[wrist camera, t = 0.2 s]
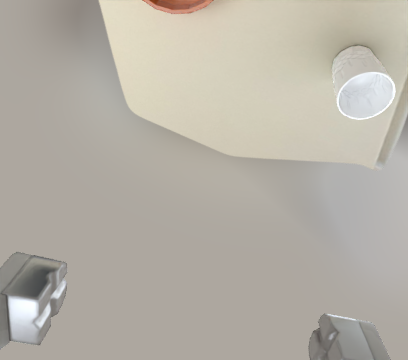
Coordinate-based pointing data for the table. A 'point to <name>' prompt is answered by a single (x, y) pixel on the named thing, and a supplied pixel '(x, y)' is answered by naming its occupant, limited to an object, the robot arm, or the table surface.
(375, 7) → the table surface
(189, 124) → the table surface
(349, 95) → the white cup
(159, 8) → the bowl
